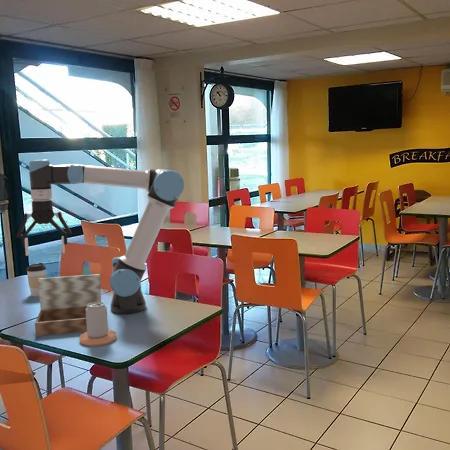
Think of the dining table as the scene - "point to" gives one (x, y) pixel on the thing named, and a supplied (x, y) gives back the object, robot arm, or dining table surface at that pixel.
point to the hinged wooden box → (66, 303)
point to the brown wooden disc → (97, 339)
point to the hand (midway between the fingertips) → (45, 254)
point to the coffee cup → (35, 277)
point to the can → (96, 320)
